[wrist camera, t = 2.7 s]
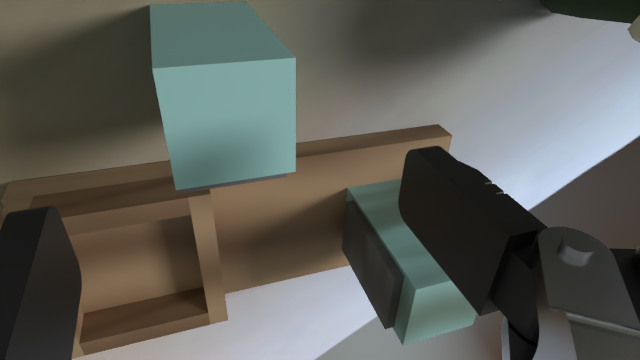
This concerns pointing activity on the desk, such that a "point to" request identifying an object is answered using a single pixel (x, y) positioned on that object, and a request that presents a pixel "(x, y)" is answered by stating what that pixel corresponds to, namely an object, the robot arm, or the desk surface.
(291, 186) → the wooden tray with block
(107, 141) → the desk surface
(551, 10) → the character mug
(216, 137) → the teal rectangular prism
